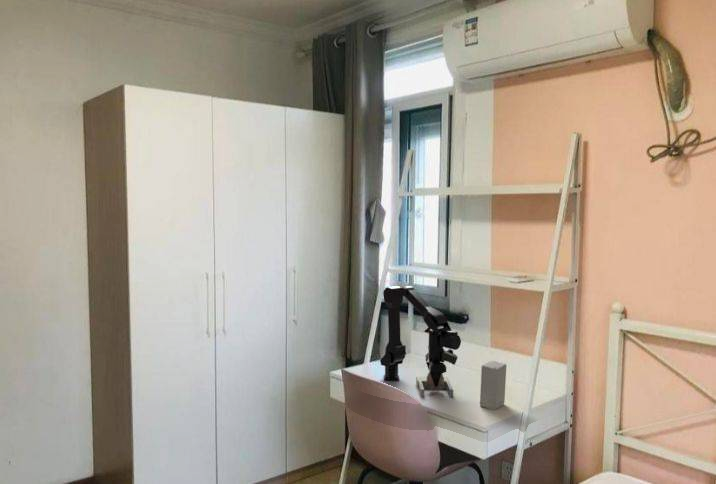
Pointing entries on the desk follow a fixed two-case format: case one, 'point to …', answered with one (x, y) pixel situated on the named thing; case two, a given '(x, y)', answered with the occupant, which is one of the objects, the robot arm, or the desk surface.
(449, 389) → the green u-shaped bracket
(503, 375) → the skincare box
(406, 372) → the desk surface
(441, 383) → the brown oval solid
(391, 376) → the robot arm
